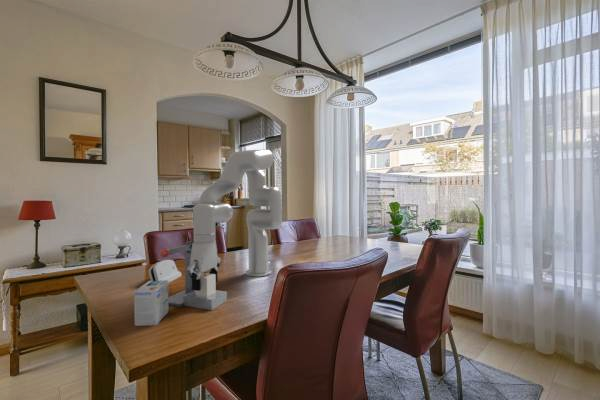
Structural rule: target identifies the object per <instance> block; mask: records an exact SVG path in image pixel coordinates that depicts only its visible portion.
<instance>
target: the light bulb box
mask: <svg viewBox="0 0 600 400" xmlns="http://www.w3.org/2000/svg"><path fill="white" fill-rule="evenodd" d="M133 296H134V298H133V299H134V300H133V301H134V302H133V303H134V309H133V310H134V326H135V327H137V326H139V327H141V326H147V325H148V326H157V325H158V324H159V323H160V322H161V321H162V319H163V318H164V317H165V316H166V315H167V314H168V313H169V306H170V305H168V297H169V283H168V280H162V281H151V280H148V281H146V282H145V283H144V284H143V285H141V286H140V287H139V288H137V289H136V290H134V292H133ZM148 326H147V327H148Z"/></svg>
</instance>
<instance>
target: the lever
mask: <svg viewBox="0 0 600 400" xmlns="http://www.w3.org/2000/svg"><path fill="white" fill-rule="evenodd" d="M193 243H194V242H192V243H191V244H186V243H185V244H183V245H179V246H175V247H171V248H166V247H165V248H162V249H160V251H159V256H160V257H162V258H167V257H169V256H171V255H174V254H175V255H176V254H178V253H182V252H183V253H184V252H186V250H190V249H192V244H193Z"/></svg>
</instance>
